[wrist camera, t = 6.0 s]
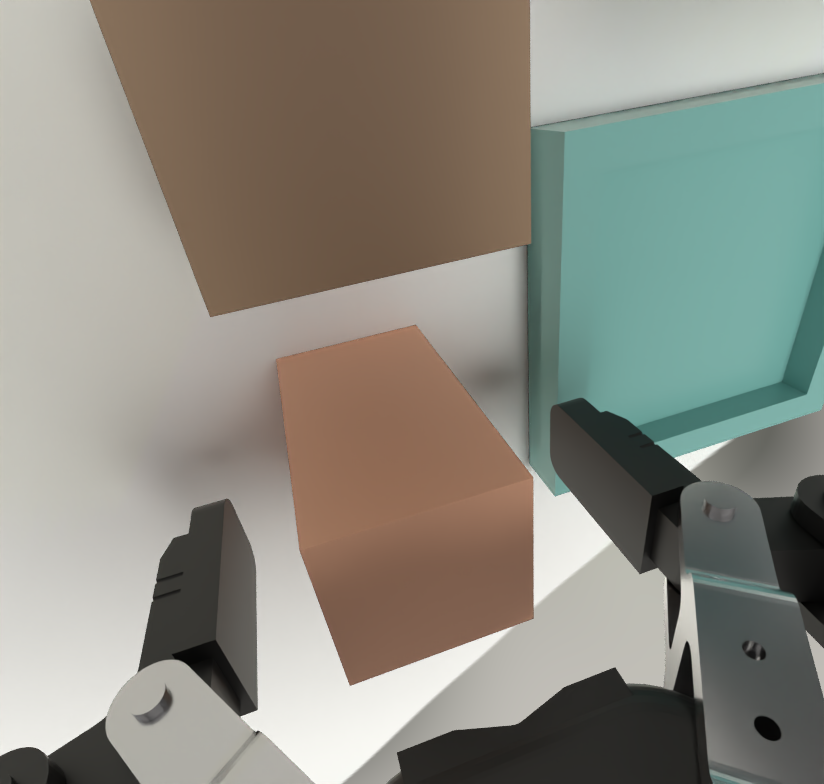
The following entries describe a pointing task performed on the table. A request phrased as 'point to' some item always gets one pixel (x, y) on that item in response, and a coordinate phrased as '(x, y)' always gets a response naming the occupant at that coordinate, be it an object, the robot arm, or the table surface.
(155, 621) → the robot arm
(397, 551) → the terracotta block
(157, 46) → the walnut block
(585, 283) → the teal tray
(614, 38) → the table surface
